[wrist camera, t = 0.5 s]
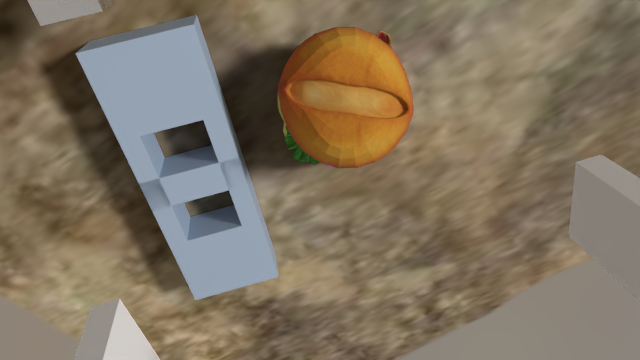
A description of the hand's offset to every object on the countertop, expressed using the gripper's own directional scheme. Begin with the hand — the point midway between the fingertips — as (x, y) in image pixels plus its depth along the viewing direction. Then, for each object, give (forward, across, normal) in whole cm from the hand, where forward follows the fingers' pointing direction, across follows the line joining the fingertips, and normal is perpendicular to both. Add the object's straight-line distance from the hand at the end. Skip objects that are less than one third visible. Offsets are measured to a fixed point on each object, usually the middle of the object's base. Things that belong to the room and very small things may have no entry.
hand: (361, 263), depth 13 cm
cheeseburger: (+24, +4, -4) cm, 25 cm away
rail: (+24, -9, -7) cm, 27 cm away
